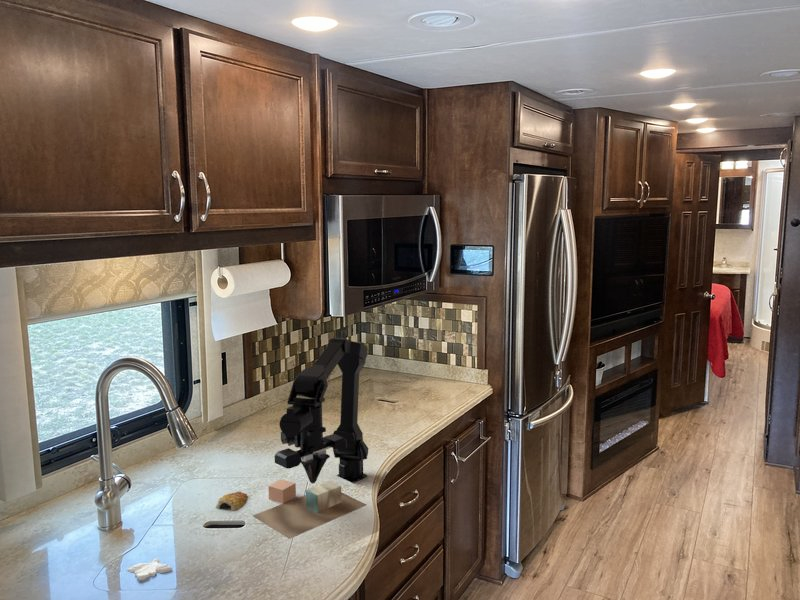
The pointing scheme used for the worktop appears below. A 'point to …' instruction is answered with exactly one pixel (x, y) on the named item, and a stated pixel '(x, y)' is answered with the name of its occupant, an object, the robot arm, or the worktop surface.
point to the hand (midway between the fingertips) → (312, 482)
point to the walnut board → (304, 515)
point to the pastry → (232, 501)
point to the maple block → (323, 496)
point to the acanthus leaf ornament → (149, 569)
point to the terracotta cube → (282, 491)
